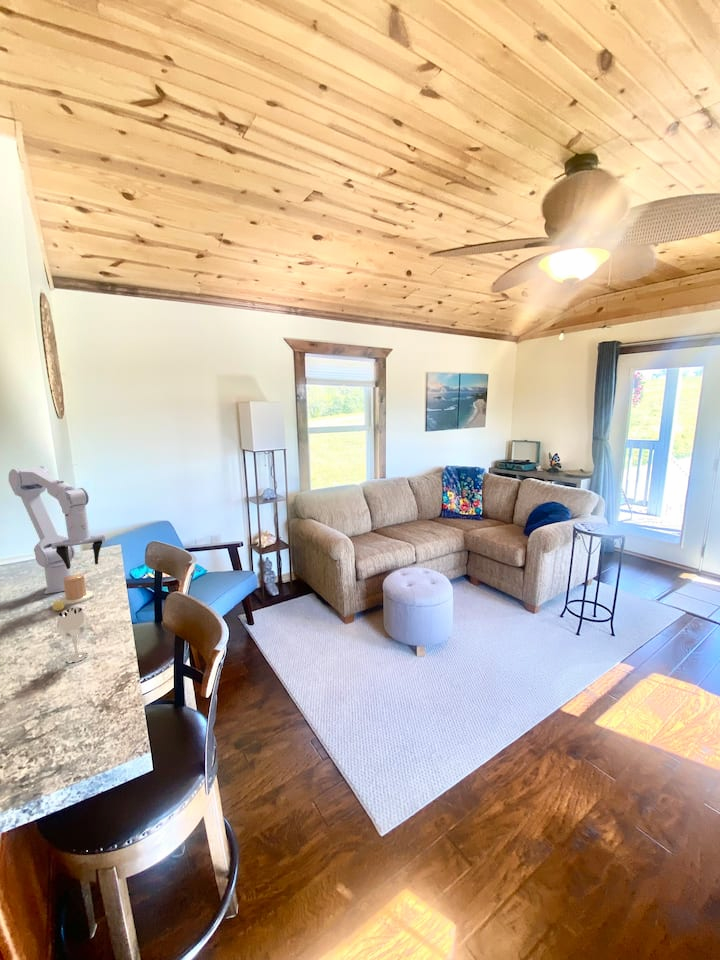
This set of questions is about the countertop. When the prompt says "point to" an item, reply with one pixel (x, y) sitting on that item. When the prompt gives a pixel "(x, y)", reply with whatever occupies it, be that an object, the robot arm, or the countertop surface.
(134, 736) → the countertop surface
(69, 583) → the cup
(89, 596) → the dish
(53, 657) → the countertop surface
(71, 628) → the wineglass
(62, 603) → the ball
